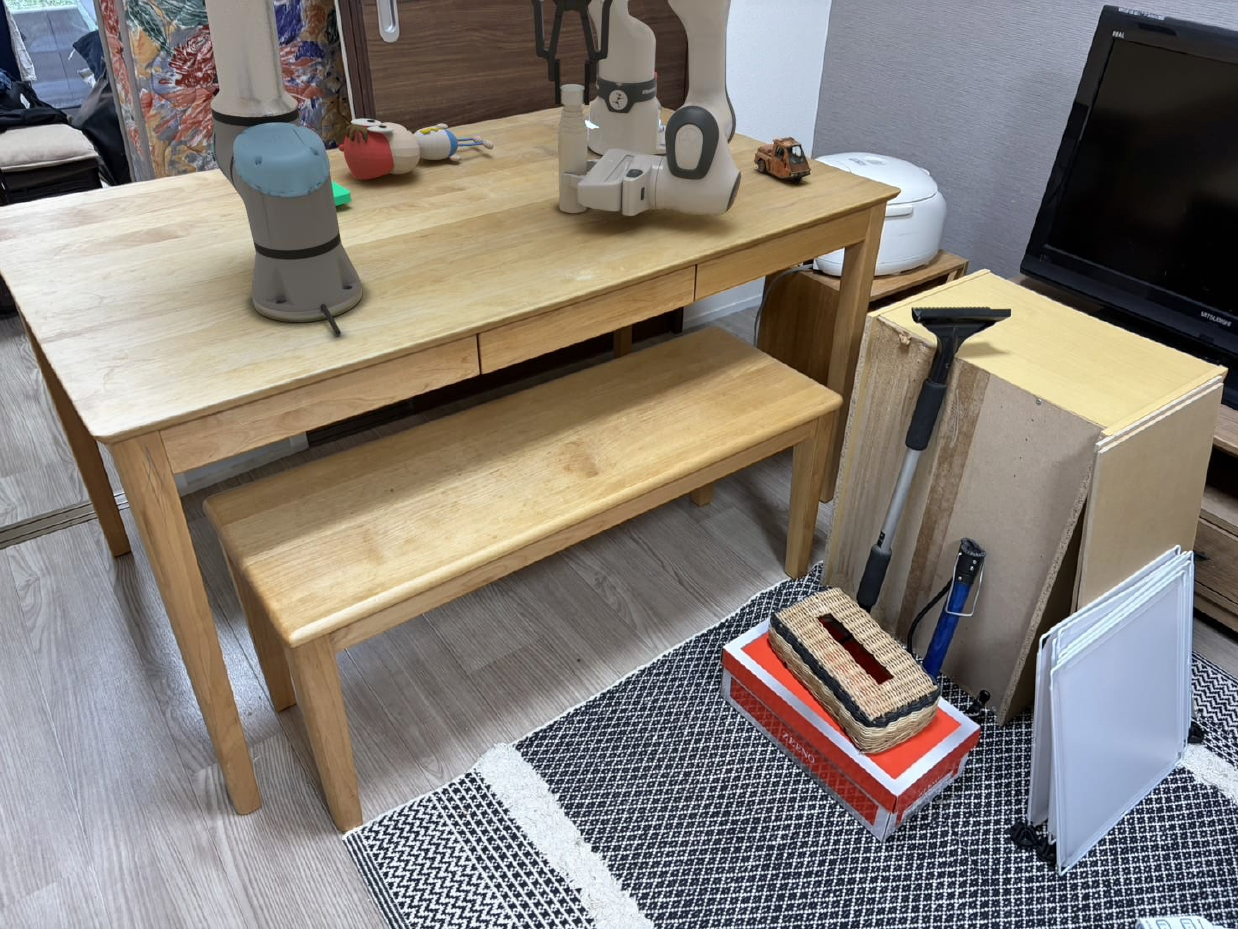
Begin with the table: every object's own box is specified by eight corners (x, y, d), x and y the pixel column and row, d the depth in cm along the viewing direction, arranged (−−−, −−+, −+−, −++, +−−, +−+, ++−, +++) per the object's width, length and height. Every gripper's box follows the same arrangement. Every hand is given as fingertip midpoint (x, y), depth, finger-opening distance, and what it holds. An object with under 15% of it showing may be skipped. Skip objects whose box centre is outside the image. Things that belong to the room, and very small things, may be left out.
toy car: (770, 163, 186) (774, 128, 182) (815, 180, 179) (820, 144, 175) (747, 169, 183) (751, 133, 179) (792, 187, 176) (798, 150, 172)
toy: (509, 125, 177) (354, 129, 162) (508, 179, 181) (358, 188, 166) (468, 109, 190) (322, 111, 175) (468, 160, 195) (326, 166, 180)
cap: (570, 96, 157) (570, 82, 155) (590, 101, 155) (590, 87, 153) (554, 102, 154) (554, 87, 152) (574, 107, 152) (574, 92, 151)
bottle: (592, 209, 165) (593, 91, 153) (570, 215, 162) (569, 96, 150) (575, 200, 168) (575, 85, 156) (553, 206, 166) (551, 89, 153)
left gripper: (512, -55, 137) (518, 107, 151) (628, -52, 137) (623, 110, 151) (518, -63, 143) (523, 94, 157) (629, -59, 143) (624, 97, 157)
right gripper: (659, 144, 165) (585, 135, 168) (630, 182, 149) (548, 172, 152) (658, 179, 169) (585, 170, 172) (628, 220, 153) (549, 209, 156)
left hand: (572, 102), depth 154 cm, fingers closed on cap, 4 cm apart
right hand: (568, 171), depth 162 cm, fingers closed on bottle, 5 cm apart
